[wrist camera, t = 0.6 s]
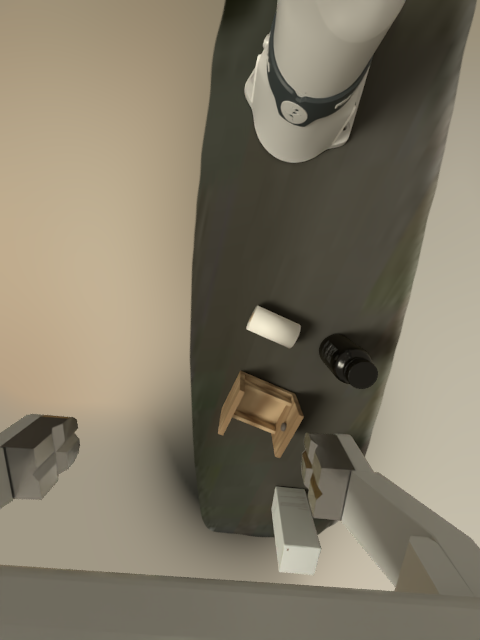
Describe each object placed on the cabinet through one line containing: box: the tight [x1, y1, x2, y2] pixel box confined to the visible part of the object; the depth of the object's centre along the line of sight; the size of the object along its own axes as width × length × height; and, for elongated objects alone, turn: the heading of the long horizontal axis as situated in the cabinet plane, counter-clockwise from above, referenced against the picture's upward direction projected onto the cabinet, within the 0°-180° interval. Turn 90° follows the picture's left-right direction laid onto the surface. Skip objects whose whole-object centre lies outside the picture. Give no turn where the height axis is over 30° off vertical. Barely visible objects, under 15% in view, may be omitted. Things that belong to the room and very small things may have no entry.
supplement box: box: [272, 486, 321, 575], centre depth 53 cm, size 7×7×13 cm
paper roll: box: [246, 305, 301, 348], centre depth 47 cm, size 9×5×5 cm, turn 66°
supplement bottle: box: [319, 334, 378, 389], centre depth 44 cm, size 7×7×12 cm
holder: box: [218, 371, 304, 458], centre depth 49 cm, size 13×10×8 cm
